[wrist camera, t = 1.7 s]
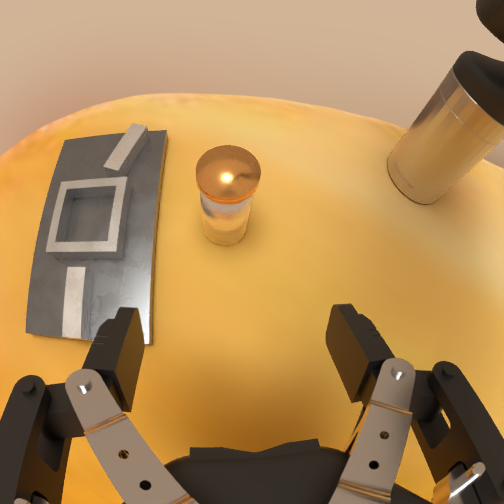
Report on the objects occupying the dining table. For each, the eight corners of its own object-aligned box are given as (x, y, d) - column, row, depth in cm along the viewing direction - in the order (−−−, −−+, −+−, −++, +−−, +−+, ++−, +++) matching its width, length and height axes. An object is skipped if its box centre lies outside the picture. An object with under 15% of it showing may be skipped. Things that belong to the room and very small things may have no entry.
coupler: (236, 199, 32) (244, 138, 23) (255, 237, 31) (271, 185, 22) (194, 215, 31) (187, 156, 22) (212, 255, 30) (210, 207, 21)
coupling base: (68, 147, 33) (59, 130, 30) (167, 138, 34) (164, 118, 31) (32, 334, 25) (15, 330, 21) (152, 344, 26) (143, 342, 23)
